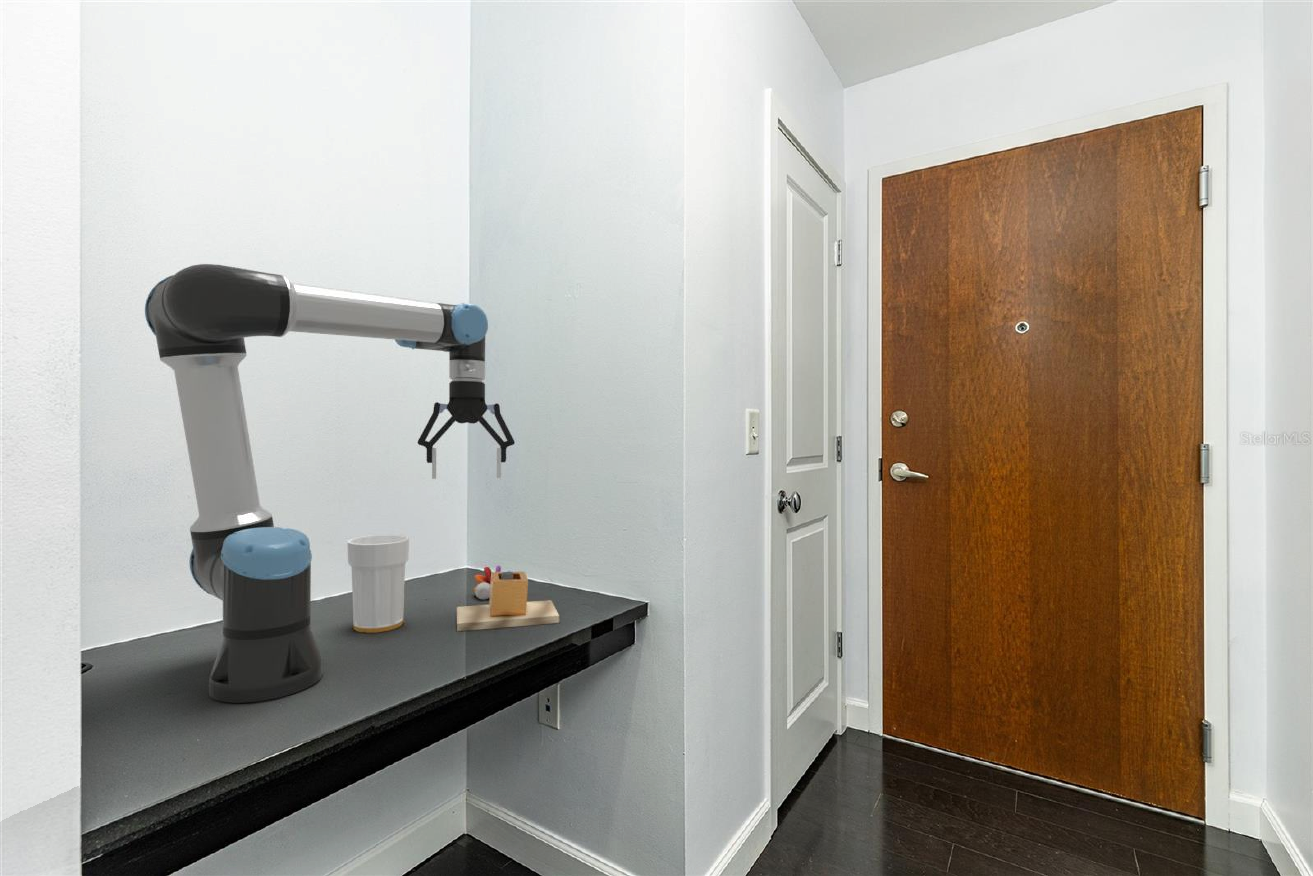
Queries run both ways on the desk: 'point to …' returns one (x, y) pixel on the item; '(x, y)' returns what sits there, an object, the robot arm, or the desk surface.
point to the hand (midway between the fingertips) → (466, 478)
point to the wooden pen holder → (508, 594)
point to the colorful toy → (484, 583)
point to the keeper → (483, 619)
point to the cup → (378, 581)
